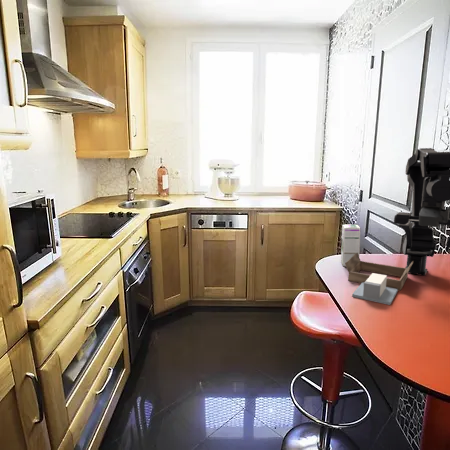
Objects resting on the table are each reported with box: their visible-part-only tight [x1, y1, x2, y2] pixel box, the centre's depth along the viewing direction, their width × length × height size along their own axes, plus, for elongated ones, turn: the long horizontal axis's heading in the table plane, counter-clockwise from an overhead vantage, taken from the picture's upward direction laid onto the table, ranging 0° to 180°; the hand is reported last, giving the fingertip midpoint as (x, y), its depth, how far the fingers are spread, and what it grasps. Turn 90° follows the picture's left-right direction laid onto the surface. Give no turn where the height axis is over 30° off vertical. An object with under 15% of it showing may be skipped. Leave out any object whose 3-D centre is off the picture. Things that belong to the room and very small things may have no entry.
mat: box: [351, 282, 399, 306], centre depth 99 cm, size 11×10×1 cm
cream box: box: [363, 272, 388, 300], centre depth 98 cm, size 10×4×4 cm, turn 144°
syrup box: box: [340, 223, 361, 267], centre depth 124 cm, size 6×6×14 cm
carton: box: [345, 253, 414, 291], centre depth 110 cm, size 13×18×6 cm
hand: (428, 249), depth 101 cm, fingers open, 9 cm apart
